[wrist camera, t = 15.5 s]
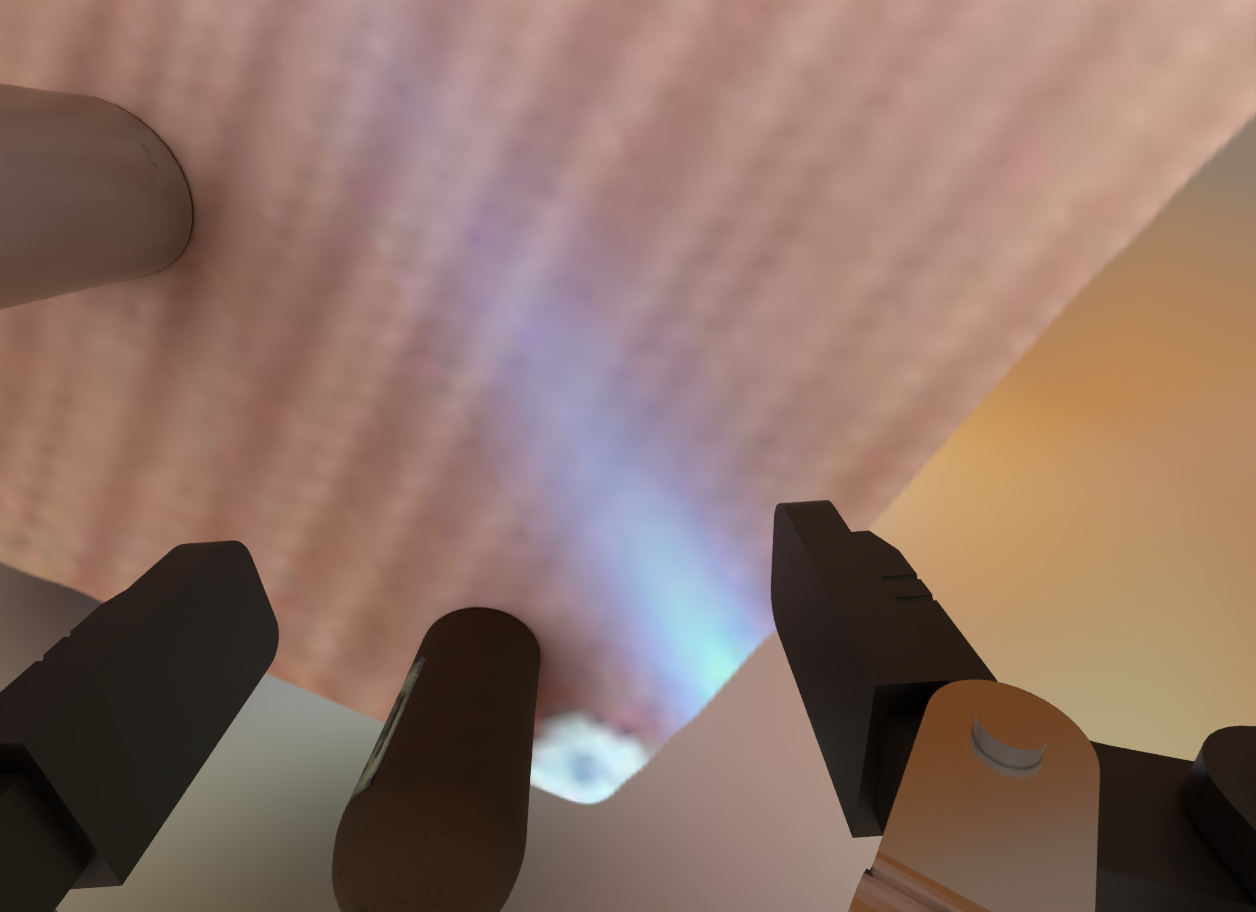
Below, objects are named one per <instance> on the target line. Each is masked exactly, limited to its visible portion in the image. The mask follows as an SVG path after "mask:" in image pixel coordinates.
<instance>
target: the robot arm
mask: <svg viewBox="0 0 1256 912" xmlns="http://www.w3.org/2000/svg"><path fill="white" fill-rule="evenodd" d="M191 225H192V204H191V199H190V195H189V191H188V187H187V184H186V182H185V179H184V177H183V175H182V172H181V170H180V168H179V166H178V164H177V163H176V161H175V160H174V158H173V156H172V155H171V153H170V152H169V150H168V149H167V147H166V146H165V145H164V144H163V143H162V142H161V141H160V139H159V138H158V137H157V136H156V135H155V134H154V133H153V132H152V131H151V130H150V129H149V128H148V127H147V126H145V125H144V124H143V123H142V122H141V121H139V120H138V119H137V118H136V117H134V116H133V115H131V114H130V113H128V112H126V111H124V110H123V109H121V108H119V107H117V106H116V105H114V104H111V103H108V102H106V101H103V100H100V99H97V98H95V97H89V96H82V95H76V94H68V93H61V92H54V91H47V90H40V89H33V88H25V87H21V86H14V85H6V84H0V309H5V308H9V307H13V306H17V305H21V304H26V303H30V302H34V301H38V300H42V299H47V298H51V297H55V296H59V295H63V294H68V293H72V292H76V291H80V290H84V289H89V288H93V287H98V286H102V285H107V284H111V283H115V282H119V281H123V280H127V279H132V278H136V277H140V276H144V275H148V274H151V273H154V272H158V271H160V270H162V269H164V268H165V267H167V266H168V265H170V264H172V263H173V262H174V261H175V260H176V258H177V257H178V256H179V255H180V254H181V253H182V252H183V250H184V247H185V245H186V243H187V241H188V239H189V236H190V231H191ZM771 601H772V610H773V616H774V621H775V625H776V628H777V631H778V634H779V637H780V640H781V642H782V645H783V648H784V650H785V653H786V656H787V659H788V662H789V664H790V667H791V670H792V672H793V675H794V678H795V681H796V683H797V686H798V689H799V692H800V694H801V697H802V700H803V702H804V706H805V708H806V711H807V714H808V717H809V719H810V722H811V724H812V728H813V730H814V733H815V736H816V739H817V741H818V744H819V747H820V749H821V752H822V755H823V758H824V760H825V763H826V766H827V769H828V771H829V774H830V777H831V780H832V782H833V785H834V788H835V790H836V793H837V796H838V799H839V801H840V804H841V807H842V810H843V813H844V815H845V818H846V821H847V824H848V826H849V829H850V832H851V835H852V837H853V838H856V837H870V836H883V837H882V840H881V843H880V846H879V849H878V852H877V855H876V857H875V860H874V863H873V865H872V867H871V870H868V869H866V870H865V872H864V873H863V875H862V877H861V880H860V882H859V884H858V887H857V889H856V893H855V894H854V897H853V900H852V903H851V905H850V908H849V911H848V912H1256V726H1233V727H1226V728H1223V729H1219V730H1217V731H1215V732H1214V733H1212V734H1210V735H1209V736H1208V738H1207V739H1206V740H1205V741H1204V743H1203V745H1202V747H1201V750H1200V751H1199V753H1198V756H1197V758H1196V760H1195V762H1194V761H1188V760H1183V759H1178V758H1172V757H1167V756H1162V755H1157V754H1152V753H1146V752H1141V751H1136V750H1130V749H1126V748H1120V747H1115V746H1109V745H1105V744H1101V743H1097V742H1093V741H1090V740H1089V739H1088V738H1087V737H1086V735H1085V734H1084V733H1083V731H1082V730H1081V729H1080V728H1079V727H1078V726H1077V725H1076V724H1075V723H1074V722H1073V721H1072V720H1071V719H1070V718H1069V717H1068V716H1067V715H1065V714H1064V713H1063V712H1062V711H1060V710H1059V709H1058V708H1056V707H1055V706H1053V705H1052V704H1050V703H1048V702H1047V701H1045V700H1044V699H1042V698H1040V697H1038V696H1036V695H1034V694H1032V693H1030V692H1027V691H1025V690H1022V689H1020V688H1018V687H1014V686H1011V685H1008V684H1004V683H1000V682H998V681H997V680H996V678H995V677H994V676H993V674H992V673H991V672H990V670H989V669H988V668H987V666H986V665H985V664H984V663H983V661H982V660H981V658H980V657H979V656H978V655H977V653H976V652H975V651H974V649H973V648H972V647H971V645H970V644H969V643H968V641H967V640H966V639H965V637H964V636H963V635H962V633H961V632H960V631H959V629H958V628H957V627H956V626H955V624H954V623H953V621H952V620H951V619H950V617H949V616H948V615H947V614H946V612H945V611H944V609H943V608H942V607H941V606H940V604H939V603H938V602H937V600H933V598H932V594H931V592H930V591H929V590H928V588H927V587H926V586H925V584H924V583H923V582H922V580H921V579H917V574H916V572H915V571H914V570H913V568H912V567H911V566H910V564H909V563H908V562H907V561H906V559H905V558H904V557H903V555H902V554H901V553H900V551H899V550H897V549H896V548H895V547H893V546H891V545H890V544H889V543H887V542H885V541H884V540H883V539H881V538H879V537H878V536H876V535H875V534H873V533H872V532H870V531H857V532H851V531H850V529H849V528H848V526H847V525H846V523H845V522H844V520H843V519H842V517H841V516H840V514H839V513H838V511H837V510H836V508H835V507H834V505H833V504H832V503H831V502H830V501H829V500H821V501H807V502H793V503H779V504H778V505H777V506H776V509H775V514H774V531H773V553H772V574H771ZM70 633H71V634H70V637H64V638H62V639H61V640H60V641H59V642H58V643H57V644H55V645H54V646H53V647H52V648H51V649H50V650H49V651H47V652H46V653H45V654H44V655H43V656H44V659H43V661H36V662H35V663H33V664H32V665H31V666H30V667H29V668H28V669H27V670H25V671H24V672H23V673H22V674H21V675H20V676H19V677H18V678H16V679H15V680H14V681H13V682H12V683H10V684H9V685H8V686H7V687H6V688H5V689H4V690H2V691H1V692H0V912H57V911H56V910H55V909H56V907H57V906H58V905H59V903H60V902H61V901H62V899H63V898H64V897H65V895H66V894H67V893H68V891H69V890H70V889H80V888H94V887H109V886H122V885H123V883H124V882H125V880H126V879H127V877H128V876H129V874H130V873H131V871H132V870H133V868H134V867H135V865H136V864H137V863H138V861H139V860H140V858H141V857H142V855H143V854H144V852H145V851H146V849H147V848H148V846H149V845H150V843H151V842H152V840H153V839H154V837H155V836H156V834H157V833H158V831H159V830H160V828H161V827H162V825H163V824H164V822H165V821H166V820H167V818H168V817H169V815H170V814H171V812H172V810H173V809H174V808H175V806H176V805H177V803H178V802H179V800H180V799H181V797H182V796H183V794H184V793H185V791H186V789H187V788H188V787H189V785H190V784H191V782H192V781H193V779H194V778H195V776H196V775H197V773H198V772H199V770H200V769H201V768H202V766H203V764H204V763H205V762H206V760H207V759H208V757H209V756H210V754H211V753H212V751H213V750H214V748H215V747H216V745H217V743H218V742H219V741H220V739H221V738H222V736H223V735H224V733H225V732H226V730H227V729H228V727H229V726H230V724H231V723H232V721H233V720H234V719H235V717H236V715H237V714H238V713H239V711H240V710H241V708H242V707H243V705H244V704H245V702H246V701H247V699H248V698H249V696H250V695H251V693H252V692H253V690H254V689H255V687H256V686H257V684H258V683H259V681H260V680H261V678H262V677H263V676H264V674H265V673H266V671H267V670H268V668H269V667H270V665H271V663H272V662H273V660H274V657H275V655H276V651H277V647H278V640H279V630H278V624H277V620H276V617H275V615H274V612H273V610H272V607H271V605H270V602H269V600H268V597H267V595H266V592H265V590H264V587H263V584H262V582H261V579H260V577H259V574H258V572H257V569H256V567H255V564H254V562H253V559H252V557H251V554H250V552H249V550H248V549H247V548H246V546H245V545H244V544H242V543H241V542H238V541H218V542H204V543H189V544H181V545H179V546H176V547H175V548H173V549H172V550H171V551H170V552H169V553H168V554H166V555H165V556H164V557H163V558H162V559H161V560H160V561H158V562H157V563H156V564H155V565H154V566H153V567H152V568H151V569H149V570H148V571H147V572H146V573H145V574H144V575H143V576H141V577H140V578H139V579H138V580H137V581H136V582H135V583H134V584H132V585H131V586H130V587H129V588H128V589H127V590H125V591H123V592H122V593H120V594H118V595H116V596H115V597H113V598H111V599H110V600H108V601H106V602H105V603H103V604H101V605H100V606H99V607H98V608H97V609H96V610H94V611H93V612H92V613H91V614H90V615H89V616H88V617H87V618H85V619H84V620H83V621H82V622H81V623H80V624H78V625H77V626H76V627H75V628H74V629H73V630H71V631H70Z"/></svg>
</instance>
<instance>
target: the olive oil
mask: <svg viewBox="0 0 1256 912" xmlns="http://www.w3.org/2000/svg"><path fill="white" fill-rule="evenodd" d="M539 668H540V651H539V646H538V643H537V641H536V639H535V637H534V636H533V634H532V633H531V632H530V630H529V629H528V628H527V627H526V626H525V625H523V624H522V623H521V622H519V621H518V620H516V619H515V618H513V617H511V616H509V615H507V614H504V613H501V612H498V611H494V610H489V609H478V608H476V609H464V610H460V611H456V612H453V613H450V614H448V615H446V616H444V617H442V618H441V619H439V620H438V621H437V622H435V623H434V624H433V625H432V626H431V627H430V629H429V630H428V631H427V633H426V635H425V637H424V639H423V641H422V643H421V645H420V648H419V650H418V652H417V655H416V657H415V659H414V662H413V664H412V666H411V668H410V670H409V672H408V675H407V677H406V679H405V682H404V684H403V686H402V688H401V691H400V693H399V695H398V697H397V699H396V702H395V704H394V706H393V708H392V710H391V712H390V715H389V717H388V719H387V721H386V723H385V725H384V728H383V730H382V732H381V734H380V736H379V739H378V741H377V743H376V745H375V747H374V749H373V751H372V753H371V755H370V758H369V760H368V762H367V764H366V766H365V768H364V770H363V772H362V774H361V777H360V779H359V782H358V783H357V785H356V787H355V789H354V792H353V794H352V796H351V798H350V800H349V802H348V804H347V806H346V808H345V811H344V813H343V816H342V819H341V822H340V824H339V827H338V830H337V834H336V840H335V845H334V853H333V863H332V881H333V890H334V894H335V897H336V900H337V903H338V906H339V908H340V910H341V912H500V911H501V909H502V908H503V906H504V904H505V903H506V901H507V899H508V897H509V895H510V893H511V891H512V889H513V886H514V884H515V882H516V879H517V877H518V874H519V871H520V868H521V865H522V862H523V857H524V853H525V846H526V836H527V820H528V805H529V790H530V775H531V761H532V747H533V734H534V721H535V708H536V698H537V688H538V678H539Z"/></svg>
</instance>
